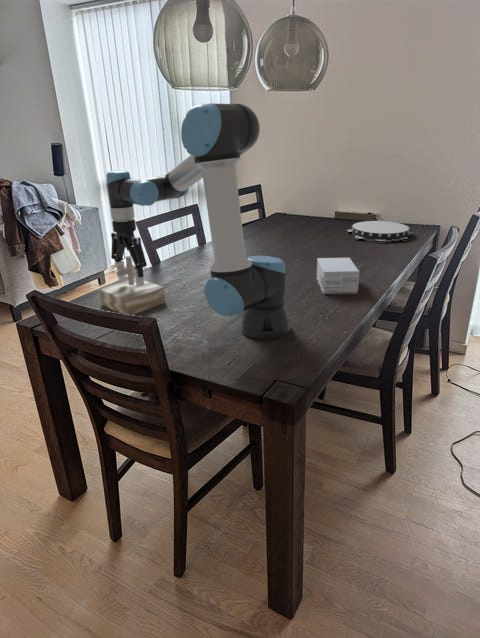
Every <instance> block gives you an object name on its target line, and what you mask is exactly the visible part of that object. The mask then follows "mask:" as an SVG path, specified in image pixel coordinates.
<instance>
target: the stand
mask: <svg viewBox="0 0 480 638" xmlns="http://www.w3.org/2000/svg"><path fill="white" fill-rule="evenodd" d="M99 293H100V301H101V305H102V306H103V307H106V308H108V309H110V310H113V311H115V312H116V313H120V314H121V315H124V314H129V315H131V316H133V315H136V314H138V313H141V312H144V311H146V310H149V309H152V308H155V307H158V306H160V305H163V304H165V303H166V297H165V287H164V286H162V285H159V284H155V283H153V282H150V281H147V280H144V285H142V286H139V287H137V286H136V278H134V285H129V281H128V280H125V281H121V282H119V283H115V284H112V285H109V286H105V287H102V288H100V289H99Z"/></svg>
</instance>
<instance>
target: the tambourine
mask: <svg viewBox="0 0 480 638" xmlns="http://www.w3.org/2000/svg"><path fill="white" fill-rule="evenodd" d="M347 231H348V232H352V233H351V235H352V234H353V235H355V238H358V239H363V238H367V239H375V240H377V241H386V240H392V239H408V240H409V235H408V234H412V235H413V232H412V231H411V230H410V227H409V226H408V225H405V224H402V223H399V222H394V221H385V220H369V221H368V220H366V221H359V222H356V223H353V224H352V226H351V229H349V228H348V229H347V230H346V232H347ZM348 232H347V233H348ZM410 232H411V233H410ZM407 236H408V237H407ZM355 238H354V239H355ZM358 239H357V240H358Z"/></svg>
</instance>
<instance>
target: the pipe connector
mask: <svg viewBox="0 0 480 638" xmlns="http://www.w3.org/2000/svg"><path fill="white" fill-rule="evenodd" d="M132 262H133V260H132V257H131V255H130V256H129V255H128V256H125V263H126V266H125V265H124V266H125V267H124V266H120V267H119V270H120V271H118V272H117V271H116V276H117V277H120V276H123V275H126V276H127V279H128V280H127V281H129V285H134V279H135V278H134V276H135V269H134V268H135V267H136V266H135V265H134V266H133V263H132Z"/></svg>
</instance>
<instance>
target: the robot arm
mask: <svg viewBox="0 0 480 638" xmlns="http://www.w3.org/2000/svg"><path fill="white" fill-rule="evenodd" d="M260 129H261V127H260V122H259V119H258V116H257V114H256V113H255V111H254V110H253V109H252V108H250V107H249V106H247V105H246V104H241V103H204V104H197V105H194V106H193V107H191V108H190V109H188V110H187V112H186V114H185V116H184V118H183V120H182V122H181V129H180V130H181V131H180V135H181V136H180V137H181V142H182V147H184V150H186V152H187V154H189V155H188V156H187V157H186V158H185V159H184V160H183V161H181V162H180V163H179V164H178V165H176V166H174V168H172V170H170V171H169V172H168V173H166V174H165V175H161V176H155V177H147V178H140V179H139V178H138V179H135V178H133V179H132V178H131V174H130V171H128V170H121V169H120V170H111V171H108V172H107V173H106V174H105V176H106V186H107V193H108V194H107V195H108V199H109V200H108V201H109V206H110V207H109V210H110V216H111V217H110V218H111V220H112V221H111V224H112V229H113V232H112V233H111V252H110V253H111V254H110V255H111V259H112V260H114V262H115V264H116V265H115V266H116V273H117V272H118V271H120V270H119V267H120V266H124V267H126V266H125V259H124V254H125V251H126V250H127V251H128V252H129V255H130V256H131V260H132V262H133V265H134V266H136V267H135V268H134V269H135V275H134V277H135V278H136V286H137V287H139V286H142V285H144V275H145V274H144V268H145V267H147V266H148V264H147V260H146V257H145V253H144V249H143V246H142V241H141V237H140V236H139V237H135V233H134V232H135V231H137V230H136V229H137V225H136V219H135V210H134V205H138V206H141V207H144V206H146V207H147V206H148V207H150V206H153V205H154V204H155V203H157V202H162V201H168V200H173V199H174V200H175V199H179V198H182V197H184V196H186V195H187V194H188V191H189V189H190V188H191V187H192V186H194V185H195V184H196V183H198V182H199V181H200V180H203V187H204V193H205V194H204V195H205V202H206V209H207V216H208V222H209V230H210V232H209V233H210V237H211V245H212V252H213V259H214V262H213V264H212V265H211V266H210V267H209V271H210V278H209V279H208V280H207V281H206V282H205V285H204V288H203V289H204V290H203V291H204V297H205V300H206V301H207V303H208V305H209V307H210V308H211V309H212V310H213V311H214V312H215V313H216V314H218V315H220V316H221V317H229V318H230V317H233V316H236V315H240V314H242V313H243V312H244V314H243V317H242V320H241V325H240V327H241V329H240V330H241V332H242V333H243V335H245V336H246V337H248V338H252V339H256V340H262V341H263V340H264V341H265V340H268V341H269V340H275V339H280V338H283V337H285V336H287V335H288V334H289V333H290V331H291V330H290V329H291V328H290V327H291V323H290V322H291V321H290V320H289V318H288V313H287V310H286V306H285V303H286V301H285V300H286V299H285V297H286V273H287V272H286V264H285V261H284V260H282V259H281V258H278V257H274V256H269V255H252V256H251V255H250V256H247V257H246V248H245V240H244V232H243V223H242V215H241V205H240V197H239V196H240V195H239V188H238V180H237V173H236V172H237V171H236V166H237V164H238V163H239V162H240V160H241V156H242V155H243V154H245V153H246V152H248V151H249V150H250V149H251V148H252V147H254V145H256V143H257V141H258V139H259V135H260V132H261V131H260ZM117 277H118V276H117ZM135 278H134V279H135ZM117 279H118V281H123V280H126V279H127V274H126V275H123V276H120V277H118V278H117Z"/></svg>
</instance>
